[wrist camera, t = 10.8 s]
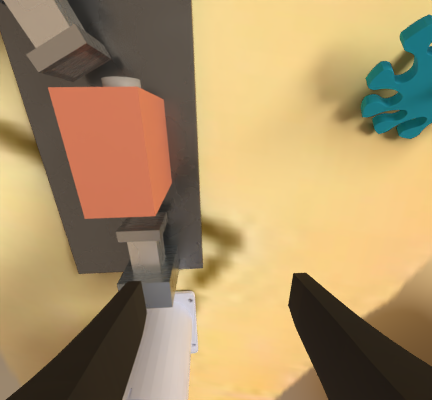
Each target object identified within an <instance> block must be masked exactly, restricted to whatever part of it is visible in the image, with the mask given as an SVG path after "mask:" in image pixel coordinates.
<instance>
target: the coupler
mask: <svg viewBox="0 0 432 400" xmlns="http://www.w3.org/2000/svg"><path fill="white" fill-rule="evenodd" d="M101 81H102V86H103V87H48V90H49V93H50V97H51V100H52V104H53V107H54V111H55V115H56V118H57V122H58V125H59V129H60V132H61V136H62V139H63V143H64V147H65V150H66V154H67V157H68V161H69V164H70V168H71V171H72V175H73V179H74V182H75V186H76V189H77V193H78V196H79V200H80V203H81V207H82V211H83V214H84V218H85V219H94V218H120V217H147V216H156V214H157V212H158V210H159V208H160V206H161V204H162V202H163V200H164V198H165V196H166V194H167V192H168V190H169V188H170V186H171V184H172V179H171V168H170V158H169V148H168V138H167V128H166V118H165V108H164V99H162V98H160V97H158V96H156V95H154V94H151V93H149V92H147V91H145V90H143V89H141V83H140V80H139V79H136V78H131V77H119V76H111V77H103V78H101Z"/></svg>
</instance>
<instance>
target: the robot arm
mask: <svg viewBox="0 0 432 400" xmlns="http://www.w3.org/2000/svg"><path fill="white" fill-rule="evenodd" d="M288 306H289V309H290V312H291V315H292V318H293V321H294V324H295V327H296V329H297V331H298V334H299V336H300V338H301V340H302V342H303V345H304V347H305V349H306V351H307V353H308V355H309V357H310V360H311V362H312V364H313V366H314V368H315V370H316V372H317V375H318V377H319V379H320V381H321V383H322V385H323V388H324V390H325V393H326V395H327V397H328V400H432V366H430V365H428V364H427V363H425V362H424V361H422V360H421V359H419V358H417V357H416V356H414V355H413V354H411V353H409V352H408V351H407V350H405V349H404V348H402V347H401V346H399V345H398V344H396V343H395V342H393V341H392V340H390V339H389V338H388V337H386V336H385V335H383V334H382V333H381V332H379V331H378V330H376V329H375V328H374V327H372V326H371V325H370V324H368V323H367V322H366V321H364V320H363V319H362V318H360V317H359V316H358V315H357V314H355V313H354V312H353V311H351V310H350V309H349V308H348V307H346V306H345V305H344V304H343V303H342V302H340V301H339V300H338V299H337V298H335V297H334V296H333V295H332V294H331V293H329V292H328V291H327V290H326V289H325V288H323V287H322V286H321V285H320V284H319V283H318V282H316V281H315V280H314V279H313V278H312V277H310V276H309V275H308V274H307V273H293V279H292V285H291V292H290V298H289V304H288ZM197 351H198V337H197V322H196V307H195V294H194V292H193V291H176V292H175V296H174V302H173V307H169V308H150V309H146V304H145V299H144V293H143V288H142V283H141V281H128V282H127V283H126V284H125V285H124V286H123V287H122V288H121V289H120V290H119V292H118V293H117V294H116V295H115V296H114V297H113V298H112V299H111V300H110V302H109V303H108V304H107V305H106V306H105V307H104V308H103V309H102V310H101V311H100V312H99V314H98V315H97V316H96V317H95V318H94V319H93V320H92V321H91V322H90V323H89V324H88V325H87V326H86V327H85V328H84V329H83V330H82V331H81V332H80V333H79V334H78V335H77V336H76V337H75V338H74V339H73V340H72V341H71V342H70V343H69V344H68V345H67V346H66V347H65V348H64V349H63V350H62V351H61V352H60V353H59V354H58V355H57V356H56V357H55V358H54V359H53V360H52V361H50V362H49V363H48V364H47V365H46V366H45V367H44V368H43V369H42V370H40V371H39V372H38V373H37V374H36V375H35V376H34V377H33V378H31V379H30V380H29V381H28V382H27V383H26V384H24V385H23V386H22V387H21V388H20V389H18V390H17V391H16V392H15V393H13V394H12V395H11V396H10V397H9V398H7V399H6V400H188V392H189V375H190V357H191V353H196V352H197Z"/></svg>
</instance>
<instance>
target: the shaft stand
mask: <svg viewBox="0 0 432 400" xmlns="http://www.w3.org/2000/svg"><path fill="white" fill-rule="evenodd" d="M0 32H1V35H2V38H3V41H4V44H5V47H6V50H7V53H8V56H9V59H10V62H11V66H12V69H13V72H14V75H15V78H16V81H17V84H18V87H19V90H20V93H21V96H22V99H23V103H24V106H25V109H26V112H27V115H28V118H29V121H30V124H31V127H32V130H33V133H34V137H35V140H36V143H37V146H38V149H39V152H40V155H41V158H42V161H43V164H44V167H45V170H46V174H47V177H48V180H49V183H50V186H51V189H52V192H53V195H54V198H55V201H56V204H57V207H58V211H59V214H60V217H61V220H62V223H63V226H64V229H65V232H66V235H67V238H68V241H69V245H70V248H71V251H72V254H73V257H74V260H75V263H76V266H77V269H78V272H79V274H85V273H107V272H123V274H122V276H121V278H120V280H119V281H118V283H117V287H118V291H119V290H120V289H121V288H122V287H123V286H124V285H125V284H126V283H127V282H128V281H141V283H142V288H143V293H144V299H145V304H146V309H150V308H169V307H173V302H174V296H175V290H176V284H177V278H178V272H179V269H194V268H203V253H202V230H201V206H200V183H199V159H198V135H197V112H196V88H195V65H194V41H193V18H192V0H0ZM111 76H119V77H131V78H136V79H139V80H140V83H141V89H143V90H145V91H147V92H149V93H151V94H154V95H156V96H158V97H160V98H162V99H164V108H165V118H166V128H167V138H168V148H169V158H170V168H171V179H172V184H171V186H170V188H169V190H168V192H167V194H166V196H165V198H164V200H163V202H162V204H161V206H160V208H159V210H158V212H157V214H156V216H147V217H120V218H94V219H85V218H84V214H83V211H82V207H81V203H80V200H79V196H78V193H77V189H76V186H75V182H74V179H73V175H72V171H71V168H70V164H69V161H68V157H67V154H66V150H65V147H64V143H63V139H62V136H61V132H60V129H59V125H58V122H57V118H56V115H55V111H54V107H53V104H52V100H51V97H50V93H49V90H48V87H103V86H102V81H101V78H103V77H111Z"/></svg>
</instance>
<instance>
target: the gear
mask: <svg viewBox="0 0 432 400" xmlns="http://www.w3.org/2000/svg"><path fill="white" fill-rule="evenodd" d="M400 41H401V43H402V45H403V48H404V50H405V51H407V52H410V53H412V54H413V55H414V63H413V66H412V67H411V68H410V69H409V70H408V71H407V72H405V73H403V74H401V75H394V71H393V69H392V66H391V64H390V62H387V61H382V62H380V63H379V64H377V65H376V66H375V67H374V68H373V69H372V70H371V72H370V73H369V74H368V76H367V77H366V82H367V86H368V88H369V89H371V90H378V89H393V90H396V91H398V93H397V94H396V95H394V96H392V97H390V98H382V97H380V96H379V95H377V94H371V95H367V96H365V97H364V99H363V101H362V104H361V113H362V117H371V116H374V115H376V114H379V113H382V112H385V111H390V110H400V111H398V112H395V113H383V114H379V115H377V116H375V117H373V118H372V121H373V125H374V129H375V131H376V132H377V133H378V134H381V133H385V132H387V131H389V130H390V129H391V128H393V127H395V126H396V125H398V124H399V125H398V126H397V131H398V135H399V136H400V137H403V138H408V139H411V138H414V137H416V136H418V135H419V134H420V133H421V131H422V130H423V129H424V128H425V127H427V126H428V125H429V124H431V123H432V46H430V47H429V45H430V44H431V42H432V16H431V15H427V16H425V17H423V18H421V19H419V20H418V21H416V22H414V23H413V24H412V25H410V26H409V27H407V28H406V29H405V30H403V31H402V32H401V34H400ZM414 118H415V119H414ZM411 119H412V120H411ZM402 122H403V123H402ZM400 123H401V124H400Z"/></svg>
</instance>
